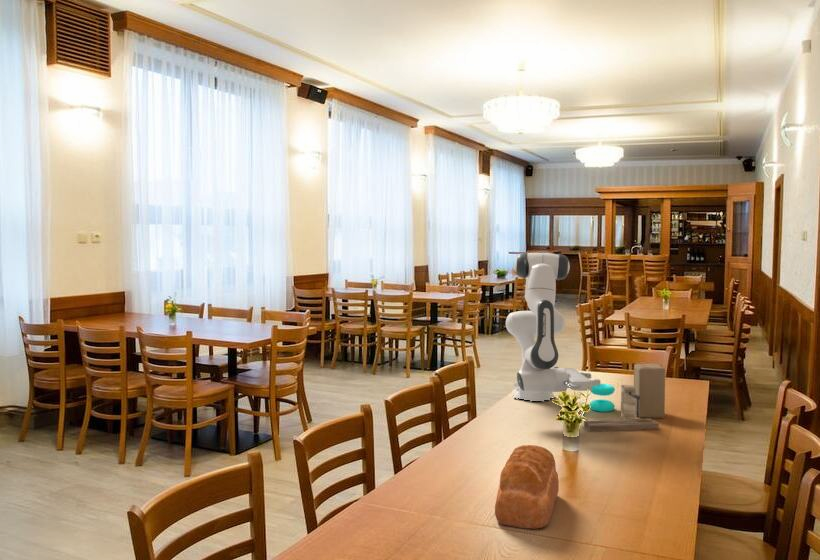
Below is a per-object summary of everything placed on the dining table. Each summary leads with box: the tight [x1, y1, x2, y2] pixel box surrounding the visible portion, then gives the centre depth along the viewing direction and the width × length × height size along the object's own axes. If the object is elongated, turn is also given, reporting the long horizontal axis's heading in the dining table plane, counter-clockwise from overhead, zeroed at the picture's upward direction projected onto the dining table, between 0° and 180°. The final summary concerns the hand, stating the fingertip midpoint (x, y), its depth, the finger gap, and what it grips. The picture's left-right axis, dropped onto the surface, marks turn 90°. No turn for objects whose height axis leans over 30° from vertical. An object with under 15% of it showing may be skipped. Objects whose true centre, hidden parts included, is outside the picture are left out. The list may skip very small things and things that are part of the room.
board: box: [583, 418, 660, 432], centre depth 251 cm, size 7×26×2 cm, turn 95°
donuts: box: [589, 383, 616, 413], centre depth 277 cm, size 10×10×10 cm
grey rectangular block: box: [633, 363, 666, 419], centre depth 267 cm, size 10×10×20 cm
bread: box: [494, 444, 560, 530], centre depth 177 cm, size 14×26×16 cm, turn 161°
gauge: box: [620, 384, 640, 420], centre depth 255 cm, size 11×4×14 cm, turn 5°
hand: (595, 378), depth 257 cm, fingers open, 8 cm apart
